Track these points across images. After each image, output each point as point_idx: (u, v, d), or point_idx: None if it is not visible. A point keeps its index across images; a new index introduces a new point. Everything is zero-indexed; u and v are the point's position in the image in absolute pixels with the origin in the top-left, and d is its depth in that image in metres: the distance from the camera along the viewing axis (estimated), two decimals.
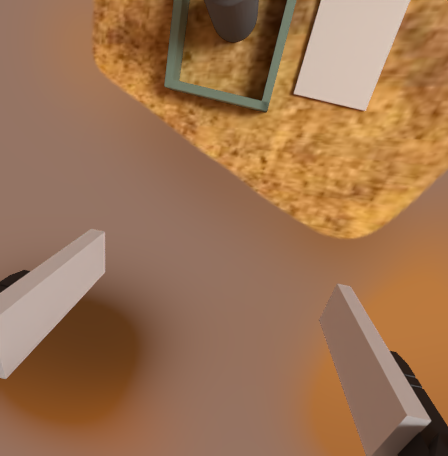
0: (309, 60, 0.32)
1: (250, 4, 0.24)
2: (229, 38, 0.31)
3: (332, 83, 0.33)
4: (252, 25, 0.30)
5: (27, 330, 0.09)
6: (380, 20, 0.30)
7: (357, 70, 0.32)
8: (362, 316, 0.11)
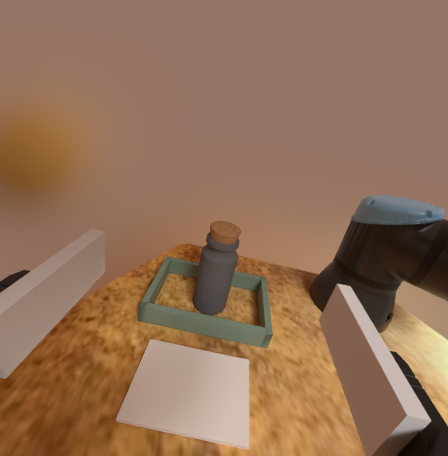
0: (177, 349, 0.34)
1: (206, 271, 0.38)
2: None
3: (154, 373, 0.30)
4: (201, 303, 0.40)
5: (27, 330, 0.09)
6: (210, 412, 0.28)
7: (164, 397, 0.28)
8: (362, 316, 0.11)
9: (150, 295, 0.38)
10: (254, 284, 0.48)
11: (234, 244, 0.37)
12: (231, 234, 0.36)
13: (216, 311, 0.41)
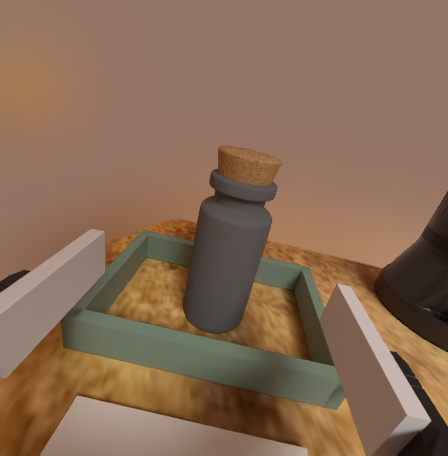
0: (138, 424, 0.14)
1: (208, 245, 0.18)
2: None
3: None
4: (199, 310, 0.21)
5: (27, 330, 0.09)
6: None
7: None
8: (362, 316, 0.11)
9: (94, 294, 0.19)
10: (289, 278, 0.29)
11: (269, 187, 0.17)
12: (265, 160, 0.16)
13: (227, 326, 0.21)
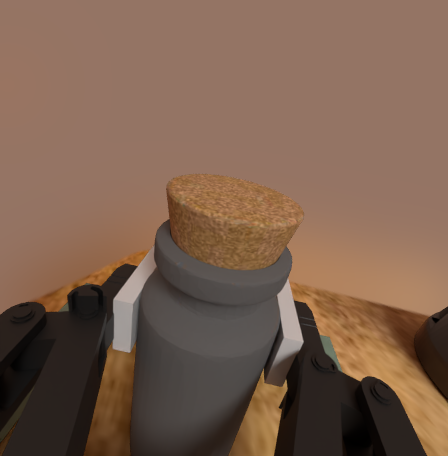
0: None
1: (153, 378, 0.09)
2: None
3: None
4: None
5: None
6: None
7: None
8: None
9: None
10: None
11: (277, 269, 0.08)
12: (269, 222, 0.07)
13: None
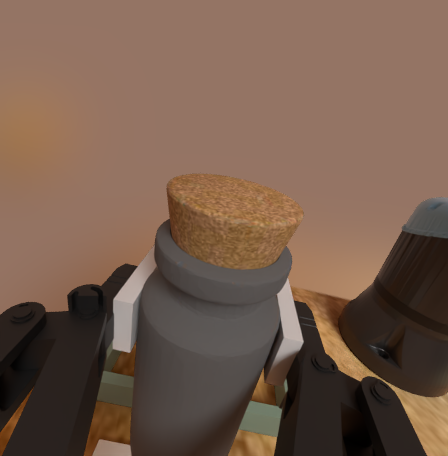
0: None
1: (153, 377, 0.09)
2: None
3: None
4: None
5: None
6: None
7: None
8: None
9: (107, 355, 0.25)
10: None
11: (277, 268, 0.08)
12: (269, 221, 0.07)
13: None
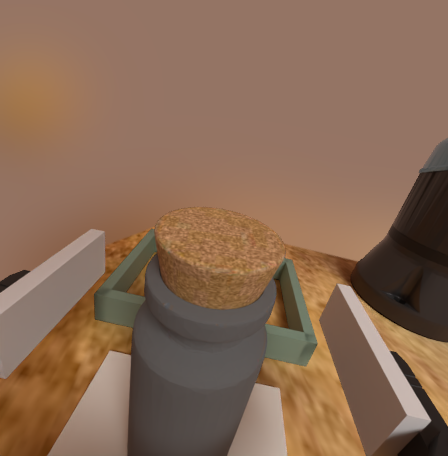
0: None
1: (145, 405, 0.09)
2: None
3: (106, 419, 0.16)
4: None
5: (27, 330, 0.09)
6: None
7: None
8: (362, 316, 0.11)
9: (117, 279, 0.24)
10: None
11: (260, 305, 0.08)
12: (249, 268, 0.07)
13: None
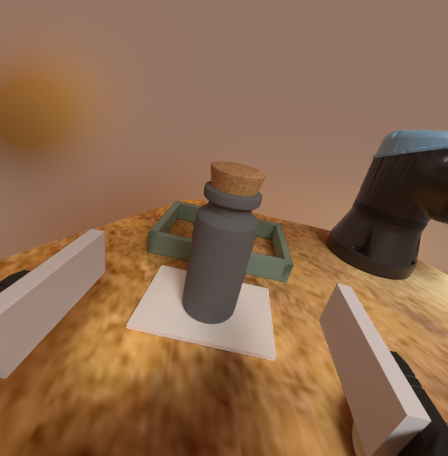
0: None
1: (203, 247, 0.21)
2: None
3: (167, 291, 0.27)
4: (195, 304, 0.24)
5: (27, 330, 0.09)
6: (230, 326, 0.25)
7: (179, 311, 0.25)
8: (362, 316, 0.11)
9: (160, 226, 0.36)
10: (268, 231, 0.46)
11: (254, 197, 0.20)
12: (250, 176, 0.19)
13: (221, 317, 0.24)
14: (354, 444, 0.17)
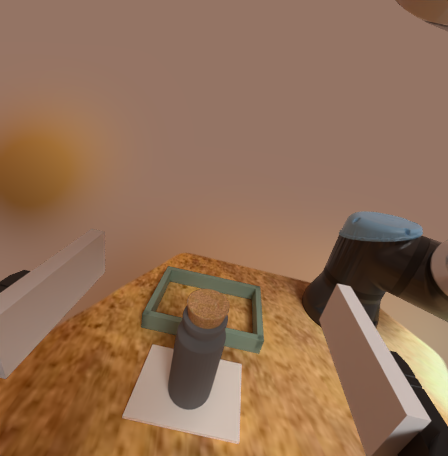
0: None
1: (181, 360, 0.28)
2: None
3: (156, 375, 0.34)
4: (177, 396, 0.30)
5: (27, 330, 0.09)
6: (205, 411, 0.31)
7: (165, 397, 0.32)
8: (362, 316, 0.11)
9: (152, 304, 0.42)
10: (249, 293, 0.52)
11: (220, 327, 0.27)
12: (215, 317, 0.25)
13: (197, 405, 0.31)
14: None
